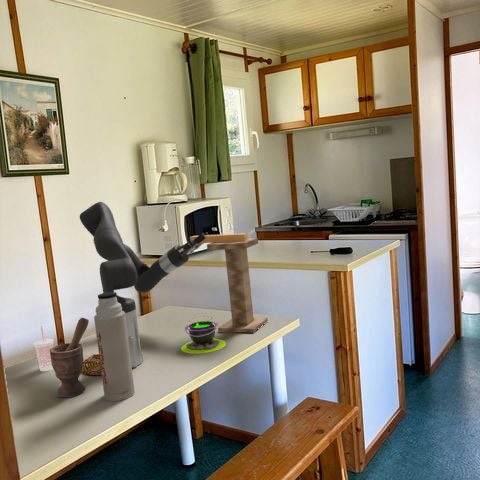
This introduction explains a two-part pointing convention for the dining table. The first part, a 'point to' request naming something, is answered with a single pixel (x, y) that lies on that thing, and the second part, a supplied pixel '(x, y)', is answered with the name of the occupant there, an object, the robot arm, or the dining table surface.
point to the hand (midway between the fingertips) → (205, 235)
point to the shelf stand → (239, 286)
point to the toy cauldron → (202, 338)
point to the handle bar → (223, 238)
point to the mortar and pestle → (70, 362)
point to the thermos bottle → (113, 348)
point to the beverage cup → (44, 352)
